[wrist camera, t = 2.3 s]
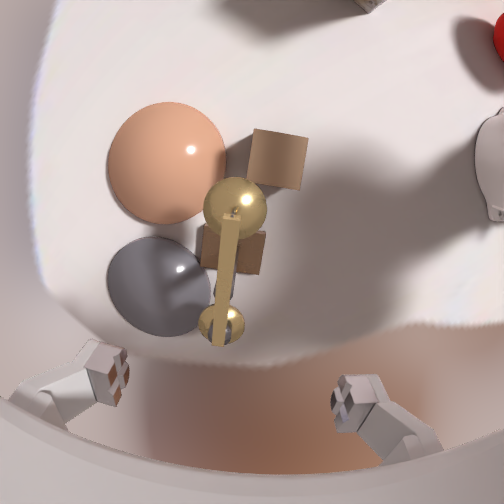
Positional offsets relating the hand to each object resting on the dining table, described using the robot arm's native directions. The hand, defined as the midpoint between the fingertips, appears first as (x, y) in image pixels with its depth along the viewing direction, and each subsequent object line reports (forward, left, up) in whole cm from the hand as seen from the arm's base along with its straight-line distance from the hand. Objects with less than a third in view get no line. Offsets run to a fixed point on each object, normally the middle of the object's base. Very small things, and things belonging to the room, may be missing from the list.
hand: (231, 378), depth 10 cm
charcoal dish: (+10, +11, -25) cm, 29 cm away
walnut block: (-2, -7, -25) cm, 26 cm away
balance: (+1, +4, -25) cm, 25 cm away
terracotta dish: (+10, -5, -25) cm, 27 cm away
